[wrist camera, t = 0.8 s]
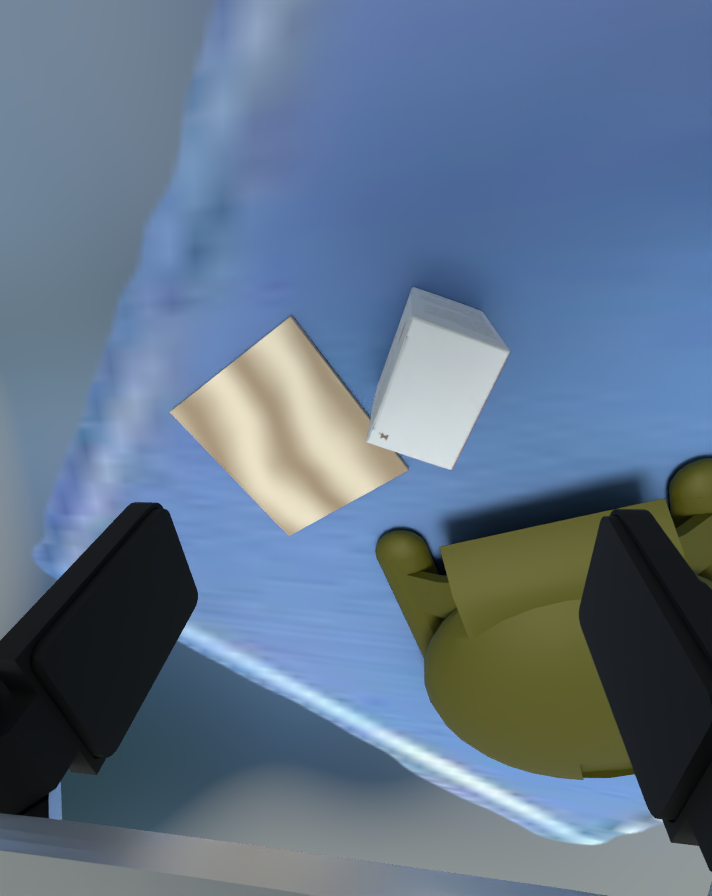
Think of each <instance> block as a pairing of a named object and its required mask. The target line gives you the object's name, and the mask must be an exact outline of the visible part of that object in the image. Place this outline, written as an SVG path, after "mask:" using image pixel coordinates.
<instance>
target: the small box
mask: <svg viewBox="0 0 712 896" xmlns="http://www.w3.org/2000/svg"><path fill="white" fill-rule="evenodd" d="M509 354H510V350H509V348H508V347H507V345H506V344H505V343H504V341H503V340H502V339H501V337H500V336H499V334H498V333H497V331H496V330H495V329H494V327H493V326H492V324H491V323H490V321H489V320H488V319H487V317H486V316H485V314H484V313H483V312H482V311H480V310H478V309H475V308H472V307H470V306H467V305H464V304H461V303H459V302H456V301H453V300H450V299H447V298H444V297H441V296H438V295H436V294H433V293H430V292H427V291H424V290H421V289H418V288H415V287H412V289H411V292H410V295H409V298H408V300H407V303H406V306H405V309H404V312H403V315H402V317H401V320H400V323H399V326H398V329H397V332H396V334H395V337H394V340H393V343H392V346H391V349H390V351H389V354H388V357H387V360H386V363H385V365H384V368H383V371H382V374H381V377H380V379H379V382H378V385H377V390H376V394H375V399H374V403H373V408H372V413H371V419H370V424H369V429H368V434H367V439H366V442H367V443H370V444H373V445H376V446H379V447H382V448H385V449H388V450H391V451H394V452H397V453H400V454H403V455H406V456H409V457H412V458H415V459H418V460H421V461H424V462H427V463H430V464H433V465H437V466H440V467H443V468H446V469H449V470H452V469H453V467H454V465H455V463H456V461H457V459H458V457H459V455H460V453H461V451H462V449H463V447H464V445H465V443H466V441H467V439H468V437H469V435H470V433H471V431H472V429H473V427H474V425H475V423H476V421H477V419H478V416H479V414H480V412H481V410H482V408H483V406H484V404H485V402H486V400H487V398H488V396H489V394H490V392H491V390H492V388H493V386H494V384H495V382H496V380H497V378H498V376H499V374H500V372H501V370H502V368H503V366H504V364H505V362H506V360H507V358H508V356H509Z"/></svg>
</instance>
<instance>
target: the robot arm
mask: <svg viewBox="0 0 712 896" xmlns="http://www.w3.org/2000/svg"><path fill="white" fill-rule="evenodd" d="M197 600H198V592H197V588H196V586H195V583H194V580H193V577H192V574H191V572H190V569H189V566H188V563H187V560H186V558H185V555H184V552H183V549H182V546H181V544H180V541H179V538H178V535H177V532H176V530H175V527H174V524H173V521H172V518H171V516H170V513H169V511H167V510H166V509H163V507H162V505H160V504H159V503H145V502H135V503H131V504H130V505H129V506H127V507H126V509H125V510H124V511H123V512H122V513H121V514H120V515H119V516H118V517H117V518H116V519H115V520H114V521H113V522H112V523H111V524H110V525H109V526H108V528H107V529H106V530H105V531H104V532H103V533H102V534H101V535H100V536H99V537H98V538H97V539H96V540H95V541H94V542H93V543H92V544H91V545H90V547H89V548H88V549H87V550H86V551H85V552H84V553H83V554H82V555H81V556H80V557H79V558H78V559H77V560H76V561H75V562H74V563H73V564H72V566H71V567H70V568H69V569H68V570H67V571H66V572H65V573H64V574H63V575H62V576H61V577H60V578H59V579H58V580H57V581H56V582H55V584H54V585H53V586H52V587H51V588H50V589H49V590H48V591H47V592H46V593H45V594H44V595H43V596H42V597H41V598H40V599H39V600H38V602H37V603H36V604H35V605H34V606H33V607H32V608H31V609H30V610H29V611H28V612H27V613H26V614H25V615H24V617H22V618H21V619H20V621H19V622H18V623H17V624H16V625H15V626H14V627H13V628H12V629H11V630H10V631H9V632H8V633H7V634H6V635H5V636H4V637H3V638H2V639H1V641H0V896H606V895H599V894H592V893H587V892H581V891H574V890H568V889H561V888H554V887H547V886H541V885H534V884H526V883H520V882H513V881H506V880H498V879H491V878H484V877H477V876H470V875H463V874H456V873H449V872H442V871H435V870H428V869H420V868H413V867H407V866H400V865H393V864H385V863H378V862H371V861H364V860H356V859H349V858H342V857H334V856H326V855H320V854H312V853H305V852H298V851H291V850H283V849H276V848H269V847H261V846H254V845H247V844H239V843H232V842H224V841H217V840H210V839H202V838H195V837H187V836H180V835H172V834H164V833H157V832H149V831H141V830H134V829H126V828H118V827H111V826H103V825H95V824H88V823H80V822H73V821H65V820H62V810H61V780H62V778H63V776H64V775H65V773H66V772H67V770H68V768H69V769H70V770H71V772H77V773H85V774H93V775H97V773H98V772H99V770H100V768H101V766H102V764H103V763H104V761H105V759H106V758H107V757H110V756H111V755H113V753H114V752H115V751H116V750H117V748H118V747H119V745H120V743H121V741H122V740H123V738H124V736H125V734H126V732H127V731H128V729H129V727H130V725H131V723H132V721H133V720H134V718H135V716H136V714H137V712H138V711H139V709H140V707H141V705H142V703H143V701H144V700H145V698H146V696H147V694H148V692H149V691H150V689H151V687H152V685H153V683H154V681H155V679H156V678H157V676H158V674H159V672H160V670H161V669H162V667H163V665H164V663H165V661H166V660H167V658H168V656H169V654H170V652H171V650H172V648H173V647H174V645H175V643H176V641H177V640H178V638H179V636H180V634H181V632H182V631H183V629H184V627H185V625H186V623H187V621H188V620H189V618H190V616H191V614H192V612H193V611H194V609H195V607H196V604H197ZM579 621H580V626H581V629H582V632H583V634H584V637H585V640H586V642H587V645H588V648H589V651H590V653H591V656H592V659H593V661H594V664H595V667H596V670H597V672H598V675H599V678H600V680H601V683H602V686H603V688H604V691H605V694H606V697H607V699H608V702H609V705H610V707H611V710H612V713H613V716H614V718H615V721H616V724H617V726H618V729H619V732H620V735H621V737H622V740H623V743H624V745H625V748H626V751H627V753H628V756H629V759H630V762H631V764H632V767H633V770H634V772H635V775H636V778H637V781H638V783H639V786H640V789H641V791H642V794H643V797H644V800H645V802H646V805H647V807H648V809H649V811H650V813H651V814H652V815H653V816H654V817H655V818H657V819H662V820H663V823H664V825H665V828H666V830H667V833H668V835H669V838H670V841H671V842H672V843H680V844H688V845H697V846H699V847H700V849H701V851H702V853H703V856H704V858H705V860H706V863H707V865H708V868H709V870H710V871H711V872H712V589H711V588H710V587H709V586H708V585H707V584H706V583H704V582H702V581H701V580H699V579H698V577H697V576H696V575H695V573H694V572H693V570H692V569H691V568H690V566H689V565H688V564H687V562H686V561H685V559H684V558H683V557H682V555H681V554H680V552H679V551H678V550H677V548H676V547H675V546H674V544H673V543H672V541H671V540H670V539H669V537H668V536H667V534H666V533H665V532H664V530H663V529H662V528H661V526H660V525H659V523H658V522H657V521H656V519H655V518H654V517H653V515H652V514H651V513H650V512H649V511H648V510H645V509H614V510H613V511H612V512H611V513H610V516H604V517H602V518H601V521H600V524H599V528H598V532H597V536H596V540H595V545H594V549H593V553H592V557H591V561H590V565H589V569H588V574H587V578H586V582H585V586H584V590H583V594H582V599H581V603H580V607H579ZM708 896H712V883H711V886H710V890H709V893H708Z"/></svg>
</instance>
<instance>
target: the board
mask: <svg viewBox="0 0 712 896" xmlns="http://www.w3.org/2000/svg"><path fill="white" fill-rule="evenodd" d="M170 413H171V414H172V415H173V416H174V417H175V418H176V419H177V420H178V421H179V422H180V423H181V424H182V425H183V426H184V427H185V428H186V429H187V430H188V432H189V433H190V434H191V435H192V436H193V437H194V438H195V439H196V440H197V441H198V442H199V443H200V444H201V445H202V446H203V447H204V448H205V449H206V450H207V451H208V452H209V453H210V454H211V455H212V457H213V458H214V459H215V460H216V461H217V462H218V463H219V464H220V465H221V466H222V467H223V468H224V469H225V470H226V471H227V472H228V473H229V474H230V475H231V476H232V477H233V478H234V479H235V480H236V482H237V483H238V484H239V485H240V486H241V487H242V488H243V489H244V490H245V491H246V492H247V493H248V494H249V495H250V496H251V497H252V498H253V499H254V500H255V501H256V502H257V503H258V504H259V505H260V506H261V508H262V509H263V510H264V511H265V512H266V513H267V514H268V515H269V516H270V517H271V518H272V519H273V520H274V521H275V522H276V523H277V524H278V525H279V526H280V527H281V528H282V529H283V530H284V531H285V533H286V534H287V535H288V536H290V535H292V534H293V533H295V532H297V531H299V530H301V529H302V528H304V527H306V526H308V525H310V524H312V523H313V522H315V521H317V520H319V519H321V518H323V517H324V516H326V515H328V514H330V513H332V512H333V511H335V510H337V509H339V508H341V507H343V506H344V505H346V504H348V503H350V502H352V501H354V500H355V499H357V498H359V497H361V496H363V495H364V494H366V493H368V492H370V491H372V490H374V489H375V488H377V487H379V486H381V485H383V484H385V483H386V482H388V481H390V480H392V479H394V478H395V477H397V476H399V475H401V474H403V473H405V472H406V471H408V468H409V467H408V466H407V465H406V463H405V462H404V461H403V460H402V458H401V457H400V456H399V454H398V453H397V452H394V451H391V450H388V449H385V448H382V447H379V446H376V445H373V444H370V443H367V442H366V439H367V434H368V429H369V424H370V419H371V418H370V417H369V415H368V414H367V413H366V411H365V410H364V409H363V408H362V406H361V405H360V404H359V402H358V401H357V400H356V398H355V397H354V396H353V394H352V393H351V392H350V391H349V389H348V388H347V387H346V385H345V384H344V383H343V381H342V380H341V379H340V378H339V376H338V375H337V374H336V372H335V371H334V370H333V368H332V367H331V366H330V365H329V363H328V362H327V361H326V359H325V358H324V357H323V355H322V354H321V353H320V352H319V350H318V349H317V348H316V346H315V345H314V344H313V342H312V341H311V340H310V339H309V337H308V336H307V335H306V333H305V332H304V331H303V329H302V328H301V327H300V325H299V324H298V323H297V322H296V320H295V319H294V318H293V316H290V317H289V318H288V319H287V320H285V321H284V322H283V323H282V324H280V325H279V326H278V327H276V328H275V329H274V330H273V331H271V332H270V333H269V334H268V335H266V336H265V337H264V338H263V339H261V340H260V341H259V342H258V343H256V344H255V345H254V346H252V347H251V348H250V349H249V350H247V351H246V352H245V353H244V354H242V355H241V356H240V357H239V358H237V359H236V360H235V361H234V362H232V363H231V364H230V365H229V366H227V367H226V368H225V369H223V370H222V371H221V372H220V373H218V374H217V375H216V376H215V377H213V378H212V379H211V380H210V381H208V382H207V383H206V384H205V385H203V386H202V387H201V388H199V389H198V390H197V391H196V392H194V393H193V394H192V395H191V396H189V397H188V398H187V399H186V400H184V401H183V402H182V403H181V404H179V405H178V406H177V407H176V408H174V409H173V410H172V411H171V412H170Z"/></svg>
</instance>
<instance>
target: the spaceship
mask: <svg viewBox="0 0 712 896" xmlns="http://www.w3.org/2000/svg"><path fill="white" fill-rule="evenodd" d="M669 495H670V507H671V515H670V512H669V509H668V506H667V503H666V500H665V498H664V499H659V500H654V501H650V502H645V503H641V504H636V505H631V506H627V507H622V508H617V509H645V510H648V511H649V512H650V513H651V514H652V515H653V517H654V518H655V519H656V521H657V522H658V523H659V525H660V526H661V528H662V529H663V530H664V532H665V533H666V534H667V536H668V537H669V539H670V540H671V541H672V543H673V544H674V546H675V547H676V548H677V550H678V551H679V552H680V554H681V555H682V557H683V558H684V559H685V561H686V562H687V564H688V565H689V566H690V568H691V569H692V570H693V572H694V573H695V575H696V576H697V577H698V579H699V580H701V581H702V582H704V583H706V584H707V585H708V586H709V587H710V588H711V589H712V458H705V459H700V460H697V461H694V462H692V463H689V464H687V465H686V466H684V467H683V468H682V469H680V470H679V471H678V472H677V473H676V475H675V476H674V477H673V479H672V480H671V482H670V487H669ZM613 510H614V509H613ZM613 510H608V511H604V512H599V513H594V514H590V515H585V516H580V517H576V518H571V519H567V520H562V521H557V522H553V523H548V524H543V525H539V526H534V527H530V528H525V529H520V530H516V531H511V532H506V533H502V534H497V535H493V536H488V537H483V538H479V539H474V540H469V541H465V542H460V543H456V544H451V545H446V546H442V547H440V551H441V555H442V558H443V562H444V566H445V570H446V573H447V576H444V575H439V574H438V571H437V569H436V566H435V564H434V561H433V559H432V556H431V554H430V551H429V549H428V546H427V544H426V543H425V541H424V540H423V538H422V537H420V536H419V535H417V534H415V533H414V532H410V531H406V530H396V531H391V532H389V533H387V534H384V535H383V536H382V537H381V538H380V539H379V540H378V543H377V546H376V551H375V552H376V557H377V560H378V561H379V563H380V566H381V568H382V570H383V572H384V574H385V576H386V578H387V580H388V583H389V585H390V587H391V589H392V591H393V593H394V595H395V597H396V600H397V602H398V604H399V606H400V608H401V610H402V612H403V615H404V617H405V619H406V621H407V623H408V625H409V627H410V629H411V632H412V634H413V636H414V638H415V640H416V642H417V644H418V646H419V649H420V651H421V653H422V655H423V657H424V659H425V660H424V679H425V686H426V690H427V693H428V696H429V699H430V702H431V703H432V705H433V706H434V708H435V709H436V711H437V712H438V714H439V715H440V717H441V718H442V720H443V721H444V723H445V724H446V726H447V727H448V728H450V729H451V730H452V731H453V732H454V733H455V734H456V735H457V736H458V737H459V738H460V739H461V740H463V741H464V742H466V743H467V744H469V745H470V746H472V747H473V748H475V749H477V750H478V751H480V752H481V753H483V754H485V755H486V756H488V757H490V758H492V759H494V760H497V761H499V762H501V763H503V764H505V765H508V766H511V767H514V768H517V769H520V770H524V771H527V772H530V773H535V774H540V775H546V776H551V777H557V778H566V779H578V780H583V778H612V777H619V776H626V775H632V774H635V772H634V770H633V767H632V764H631V762H630V759H629V756H628V753H627V751H626V748H625V745H624V743H623V740H622V737H621V735H620V732H619V729H618V726H617V724H616V721H615V718H614V716H613V713H612V710H611V707H610V705H609V702H608V699H607V697H606V694H605V691H604V688H603V686H602V683H601V680H600V678H599V675H598V672H597V670H596V667H595V664H594V661H593V659H592V656H591V653H590V651H589V648H588V645H587V642H586V640H585V637H584V634H583V632H582V629H581V626H580V621H579V607H580V603H581V599H582V594H583V590H584V586H585V582H586V578H587V574H588V569H589V565H590V561H591V557H592V553H593V549H594V545H595V540H596V536H597V532H598V528H599V524H600V521H601V518H602V517H604V516H610V513H611V512H612V511H613ZM635 776H636V775H635Z"/></svg>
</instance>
